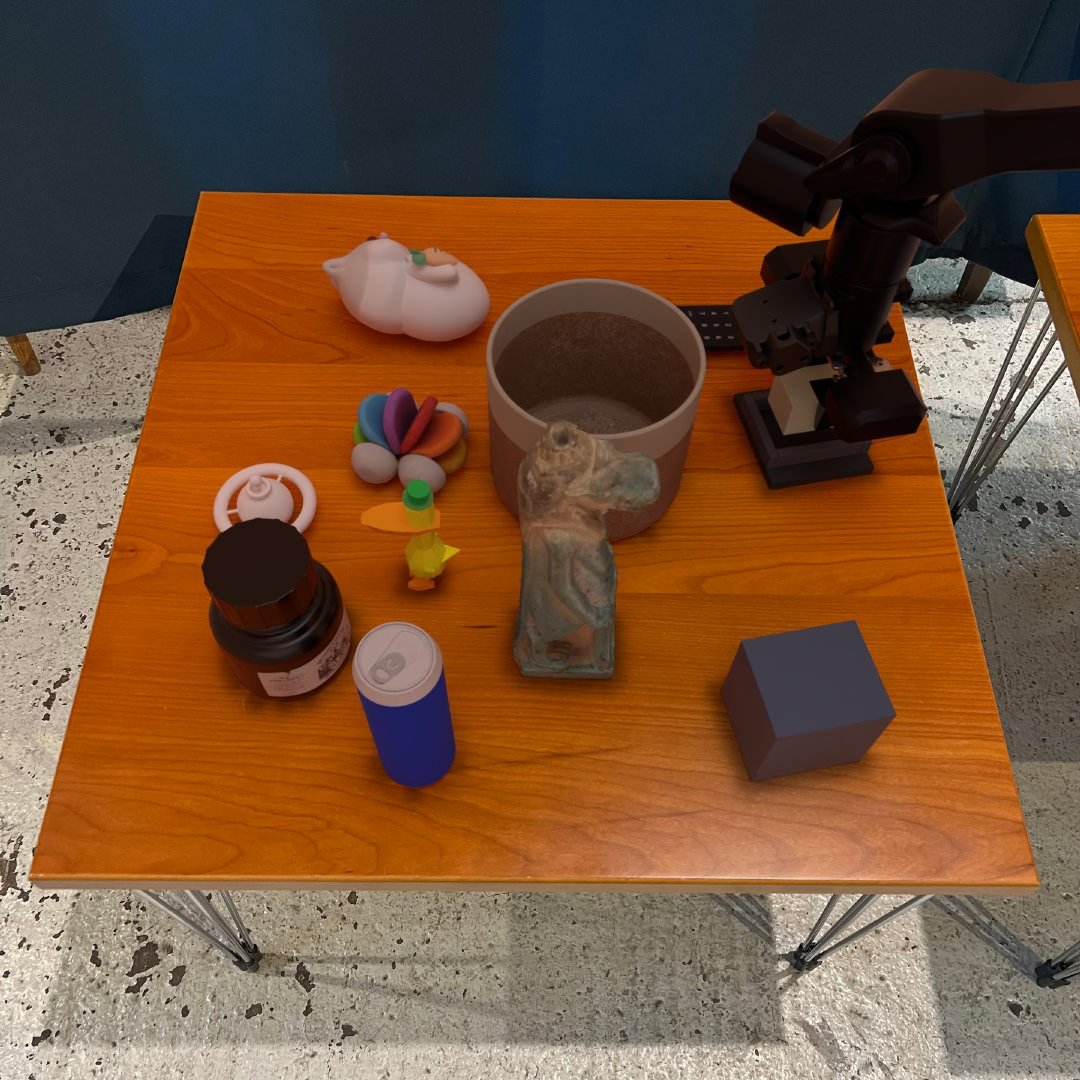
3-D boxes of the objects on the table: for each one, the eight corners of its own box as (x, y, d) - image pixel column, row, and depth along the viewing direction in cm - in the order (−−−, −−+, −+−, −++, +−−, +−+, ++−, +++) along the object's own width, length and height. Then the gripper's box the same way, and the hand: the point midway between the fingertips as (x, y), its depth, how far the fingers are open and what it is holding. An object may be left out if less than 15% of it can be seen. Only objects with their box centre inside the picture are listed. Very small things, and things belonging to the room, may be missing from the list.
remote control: (515, 318, 91) (515, 307, 90) (769, 315, 92) (772, 304, 91) (516, 360, 88) (516, 349, 87) (778, 355, 89) (782, 345, 88)
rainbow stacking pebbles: (450, 511, 79) (444, 455, 73) (339, 482, 80) (324, 425, 74) (483, 433, 83) (480, 374, 77) (377, 408, 85) (366, 348, 79)
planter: (714, 509, 79) (748, 396, 68) (537, 576, 75) (540, 467, 64) (626, 377, 87) (643, 255, 76) (462, 431, 83) (453, 311, 72)
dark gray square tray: (828, 386, 87) (835, 367, 85) (871, 474, 82) (880, 455, 79) (732, 400, 86) (737, 381, 84) (769, 490, 80) (776, 472, 78)
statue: (629, 688, 70) (676, 481, 49) (514, 693, 70) (511, 486, 49) (620, 605, 74) (660, 381, 53) (510, 609, 74) (507, 385, 53)
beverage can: (417, 705, 69) (394, 601, 57) (471, 749, 68) (460, 651, 55) (365, 758, 67) (330, 662, 55) (420, 805, 65) (396, 717, 53)
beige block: (834, 389, 82) (845, 360, 79) (852, 425, 80) (864, 396, 77) (767, 399, 82) (776, 370, 79) (783, 435, 79) (793, 407, 76)
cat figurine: (498, 246, 82) (324, 208, 82) (478, 338, 82) (304, 301, 82) (499, 279, 92) (343, 245, 92) (482, 361, 92) (325, 328, 91)
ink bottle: (296, 730, 68) (258, 652, 58) (202, 668, 71) (149, 584, 61) (380, 626, 73) (358, 538, 63) (289, 572, 75) (254, 479, 65)
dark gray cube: (824, 671, 71) (855, 618, 65) (860, 761, 68) (897, 715, 61) (719, 690, 70) (740, 639, 64) (750, 783, 67) (776, 738, 60)
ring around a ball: (313, 469, 81) (215, 487, 79) (301, 426, 76) (196, 445, 75) (326, 549, 77) (223, 569, 75) (314, 510, 72) (204, 531, 71)
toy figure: (374, 600, 74) (351, 509, 64) (378, 560, 76) (356, 466, 66) (463, 599, 74) (454, 508, 64) (464, 559, 76) (455, 465, 66)
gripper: (715, 190, 72) (685, 342, 85) (803, 373, 62) (754, 515, 75) (857, 173, 73) (806, 325, 86) (966, 350, 63) (890, 492, 76)
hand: (810, 409), depth 81 cm, fingers closed on beige block, 4 cm apart
